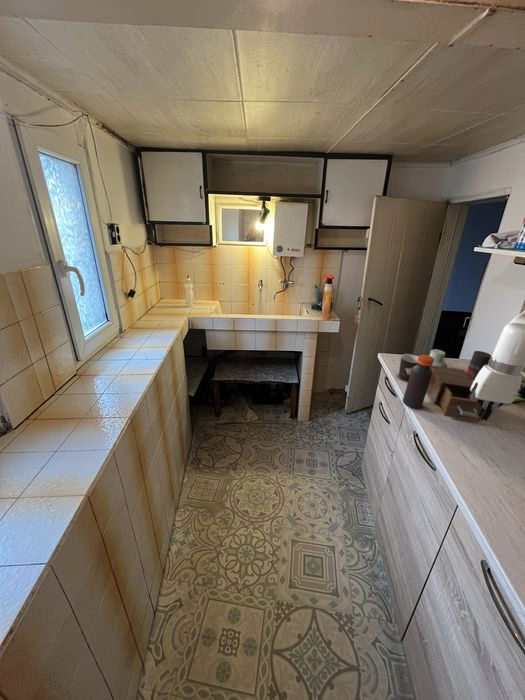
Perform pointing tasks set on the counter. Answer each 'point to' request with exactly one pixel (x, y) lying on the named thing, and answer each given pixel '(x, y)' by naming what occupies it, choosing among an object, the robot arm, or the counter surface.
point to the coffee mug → (407, 366)
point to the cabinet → (447, 380)
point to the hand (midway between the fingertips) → (481, 417)
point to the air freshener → (438, 358)
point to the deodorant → (477, 363)
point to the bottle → (418, 382)
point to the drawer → (458, 403)
